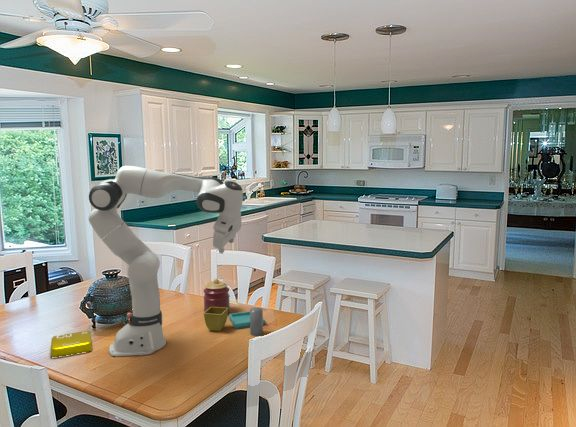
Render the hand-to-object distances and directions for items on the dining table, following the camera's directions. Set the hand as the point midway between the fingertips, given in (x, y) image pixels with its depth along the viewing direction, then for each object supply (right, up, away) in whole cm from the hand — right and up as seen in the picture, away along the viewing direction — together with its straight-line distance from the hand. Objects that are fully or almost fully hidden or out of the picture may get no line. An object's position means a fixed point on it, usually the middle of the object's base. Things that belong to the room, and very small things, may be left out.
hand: (226, 247), depth 192 cm
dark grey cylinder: (+12, -39, +8) cm, 42 cm away
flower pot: (-6, -39, +13) cm, 41 cm away
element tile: (-63, -42, -6) cm, 76 cm away
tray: (+7, -37, +22) cm, 44 cm away
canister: (-10, -36, +35) cm, 51 cm away
